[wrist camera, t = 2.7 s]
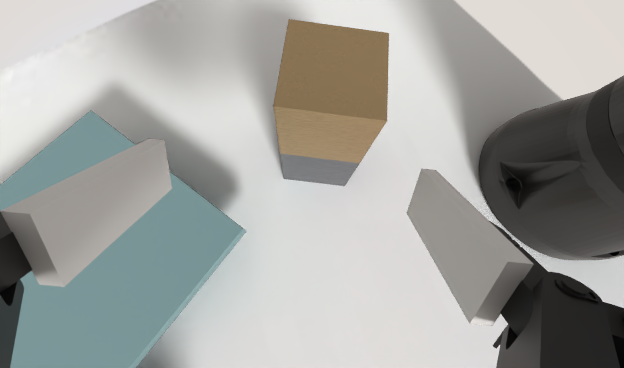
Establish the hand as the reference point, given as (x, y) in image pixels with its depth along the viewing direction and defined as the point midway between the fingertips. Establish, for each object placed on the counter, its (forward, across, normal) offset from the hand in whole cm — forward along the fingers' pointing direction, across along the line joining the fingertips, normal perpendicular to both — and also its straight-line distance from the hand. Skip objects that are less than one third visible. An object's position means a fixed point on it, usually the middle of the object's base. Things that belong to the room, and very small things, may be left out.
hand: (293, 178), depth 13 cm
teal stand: (+4, -14, -11) cm, 19 cm away
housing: (+12, +2, -3) cm, 13 cm away
